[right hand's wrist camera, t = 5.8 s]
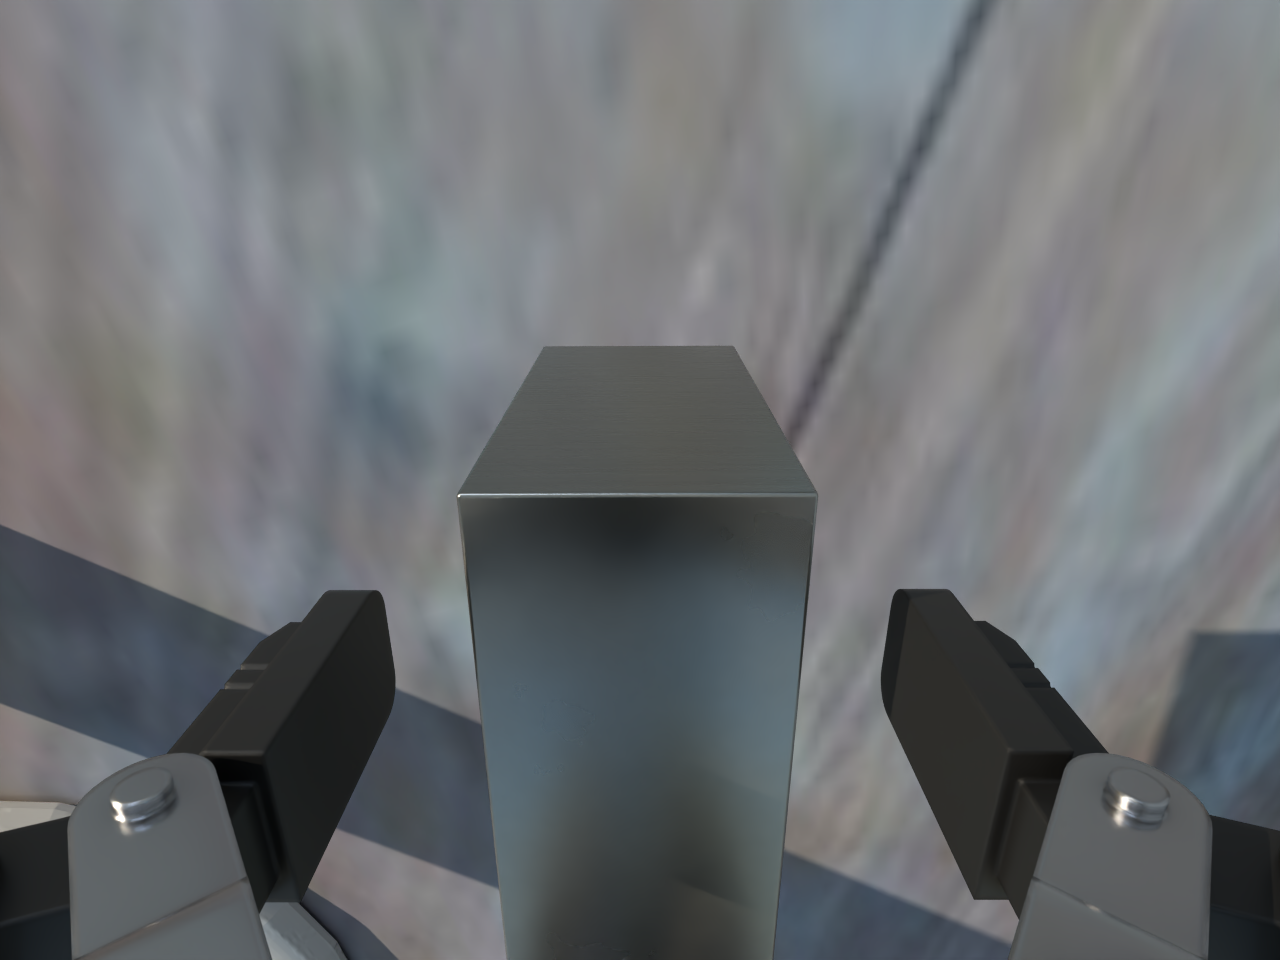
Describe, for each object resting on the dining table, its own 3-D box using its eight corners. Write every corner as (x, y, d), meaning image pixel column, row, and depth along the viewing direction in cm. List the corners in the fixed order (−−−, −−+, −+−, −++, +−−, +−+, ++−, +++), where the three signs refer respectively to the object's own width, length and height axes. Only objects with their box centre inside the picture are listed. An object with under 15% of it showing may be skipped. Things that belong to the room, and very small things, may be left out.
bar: (543, 345, 18) (454, 494, 9) (734, 345, 18) (820, 493, 9) (577, 972, 26) (547, 1344, 18) (705, 972, 26) (736, 1344, 18)
